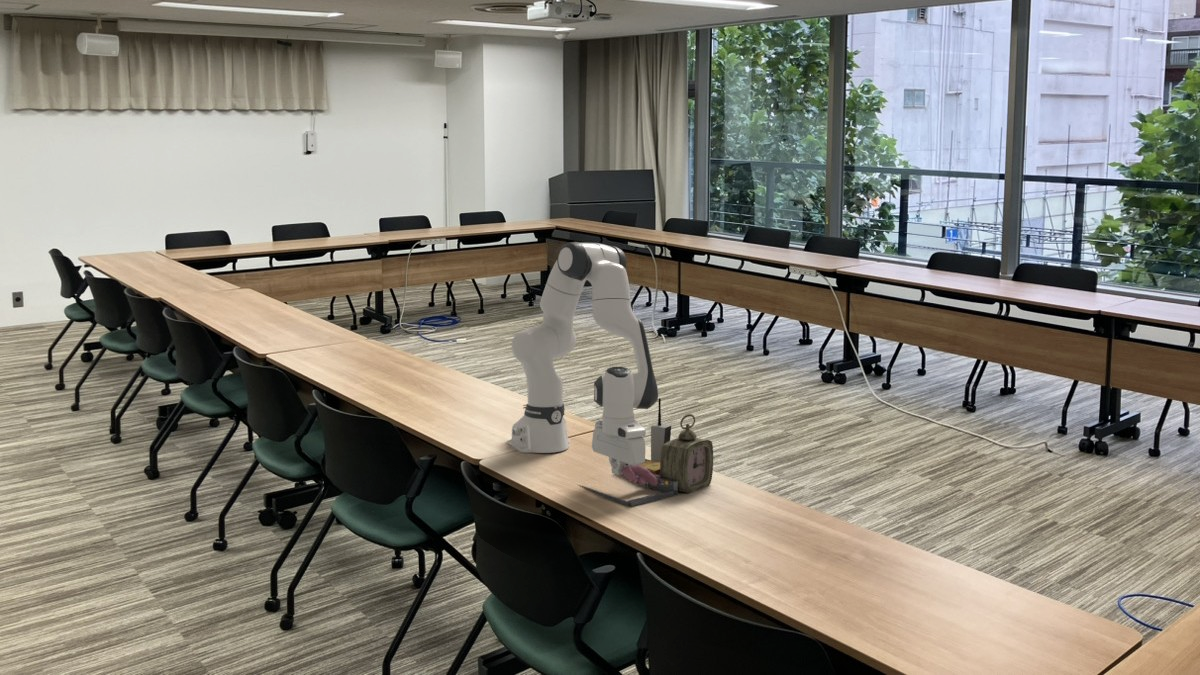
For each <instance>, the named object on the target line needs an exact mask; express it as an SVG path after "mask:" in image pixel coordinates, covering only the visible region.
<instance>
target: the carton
mask: <svg viewBox="0 0 1200 675" xmlns="http://www.w3.org/2000/svg"><path fill="white" fill-rule="evenodd" d="M625 465H628V464H627V463H626V464H625ZM640 466H642V467H643V468H647V470H649V471H650V472H651V473H653V474H657V475H660V462H656V461H652V460H651V459H648V458H645V461H644V463H643V464H641V465H640Z"/></svg>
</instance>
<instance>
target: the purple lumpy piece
mask: <svg viewBox="0 0 1200 675" xmlns="http://www.w3.org/2000/svg"><path fill="white" fill-rule="evenodd" d="M622 474H623V475H624V476H623V475H622V476H623V477H624V478H626V480H628V481H629V482H630V483H631V484H633V485H636V483H638V484H639V485H640V486H642V487H643V486H646V485H645V484H646V482H648V483H649V484H651V485H652V486H656V485H657V484H658V479H657V478H656V477H655V476H654V475H653V474H652V473H651V472H650V471H649V470H647V468H643V467H642V466H640V465H636V466H633V465H630V464H628V465H627V466H625V467H624V468H623V469H622ZM636 476H638V477H639V479H638V478H637V477H636ZM637 481H638V482H637Z"/></svg>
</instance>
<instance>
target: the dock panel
mask: <svg viewBox="0 0 1200 675" xmlns="http://www.w3.org/2000/svg"><path fill="white" fill-rule="evenodd" d="M625 466H627V465H625ZM625 466H624V467H625ZM652 474H653V473H652ZM653 475H654V476H655V477H656V478H657V479H658V484H657V485H656V486H652V485H651V484H649V483H648V482H646V484H645V485H644V486H646V487H647V488H650V489H653V490H654V491H657V493H653V494H650V495H645V496H641V497H638V498H637V497H636V498H632V499H629V500H624V499H622V498H619V497H616V496H613V495H611V494H607V493H604V492H601V491H599V490H596V489H593V488H590V487H588V486H584V485H582V487H581V488H583V487H584V489H585V488H586V489H585V490H587V489H588V490H587V491H589V490H590V491H589V492H591V491H592V492H591V493H594V494H596V495H598V496H600V497H602V498H605V499H608V500H609V501H613V502H615V503H618V504H621V505H624V506H627V507H630V508H632V507H636V506H639V505H644V504H647V503H651V502H656V501H659V500H660V501H661V500H664V499H667V498H671V497H675V496H678V492H679V491H678V481H676V480H673V479H670V478H666V477H663V476H660V475H657V474H653ZM621 476H623V477H625V476H624V475H623V474H622V475H621ZM636 477H637V478H638V479H639V477H638V476H636ZM636 483H639V482H638V481H637V482H636Z"/></svg>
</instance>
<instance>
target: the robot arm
mask: <svg viewBox="0 0 1200 675" xmlns="http://www.w3.org/2000/svg"><path fill="white" fill-rule="evenodd" d="M627 262H628V261H627V256H626V254H625V252H624V251H623V249H621V248H619V247H617V246H614V245H607V244H604V243H599V242H579V241H573V242H572V241H571V242H567V243H564V244H563V245H562V246H561V248H560V249H559V251H558V254H557V259H556V261H555V262H554V264H553V267H552V269H551V271H550V273H549V275H548V278H547V281H546V283H545V285H544V286H545V287H544V289H543V292H542V295H541V298H540V301H539V307H540V309H541V311H542V312H543V313H542V314H543V316H542V322H541V324H539V326H531V327H528V328H526V329H523V330H521V331H520V332H518V333H516V334H515V335H514V336H513V338H512V341H511V351H512V354H513V356H514V358H515V359H517V361H518V362H519V363H520V364H521V366H522V368H523V371H524V374H525V378H526V385H527V386H526V387H527V394H526V395H527V403H526V404H523V405H522V406H523V409H524V412H523V416H522V417H521V418H520V419H517V421H516V422H515V423H514V424H512V427H511V439H510V440H508V441H506V443H508V444H509V445H510V446H511V447H513V448H514V449H516V450H517V451H518V452H520V453H526V454H527V453H536V454H550V453H557V452H558V453H559V452H562V451H565V450H566V451H567V450H568V449H569V445H570V444H571V440H570V439H569V437H568V427H567V426H568V425H567V420H566V418H565V417H564V416H565V411H566V410H565V403H564V400H563V399H564V393H563V392H564V390H563V387H564V386H563V385H564V384H563V378H562V377H561V375H560V374H558V373H557V371H556V369H555V365H554V359H558V358H559V359H560V358H562V357H565V356H567V355H568V354H570V353H571V352H573V351H574V350H575V347H576V345H577V335H576V332H575V330H574V329H573V328H574V327H573V326H574V319H575V318H574V316H575V314H576V309H577V307H578V305H579V304H578V303H579V301H580V298H581V295H582V292H583V289H584V286H585V283H586V282H587V281H588V282H589V283H590V284H591V291H592V294H591V301H592V302H591V303H592V304H591V305H592V306H591V307H592V316H593V320H594V321H595V323H596V324H597V325H598V326H599V327H600V328H602V330H604V331H606V332H608V333H610V334H613V335H616V336H618V337H621V338H623V339H625V340H627V341H628V342H629V343H630V344H631V346H632V348H633V353H634V359H635V362H636V368H637V372H636V373H635V374H633V371H632V370H631V369H630V368H628V367H623V366H612V367H608V368H606V370H605V372H604V374H603V375H600V376H599V377H598V378H597V379H596V380H594V382H593V385H594V391H593V392H594V393H593V401H594V402H595V404H596V405H598V406H599V407H600V408H603V411H602V418H601V420H598V421H596V423H595V425H594V429H593V432H592V439H591V441H592V442H591V449H592V451H593V452H594V453H596V454H599V455H602V456H605V457H607V458H608V460H609V461H608V462H609V464H610V467H611V474H614V475H617V476H623V475H622V469H623V468H624V466H625V464H626V463H627V464H630V465H633V466H636V465H641V464H643V463H644V461H645V459H646V441H645V438H644V437H646V429H645V427H643V426H642V425H641V424H640V423H638V422H637V420H635V412H634V409H640V410H648V409H650V408H651V407H653V405H655V404H656V403H657V401H659V386H658V384H657V380H656V376H655V373H654V369H653V362H652V358H651V352H650V348H649V343H648V339H647V338H648V337H647V335H646V330H645V327H644V324H643V321H642V320H641V319H640V318H639V317H637V316H636V315H635V313H634V311H633V308H632V303H631V289H630V282H629V277H628V273H627V270H626V269H627Z"/></svg>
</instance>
